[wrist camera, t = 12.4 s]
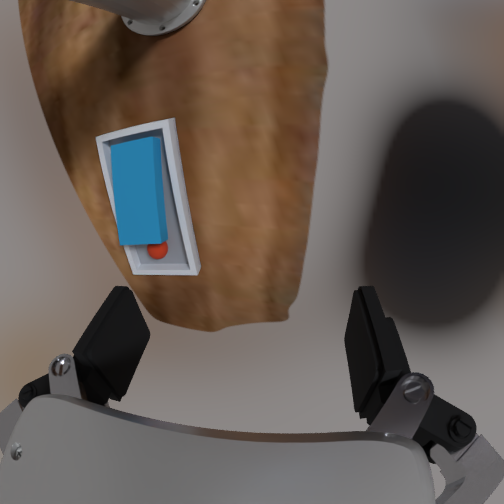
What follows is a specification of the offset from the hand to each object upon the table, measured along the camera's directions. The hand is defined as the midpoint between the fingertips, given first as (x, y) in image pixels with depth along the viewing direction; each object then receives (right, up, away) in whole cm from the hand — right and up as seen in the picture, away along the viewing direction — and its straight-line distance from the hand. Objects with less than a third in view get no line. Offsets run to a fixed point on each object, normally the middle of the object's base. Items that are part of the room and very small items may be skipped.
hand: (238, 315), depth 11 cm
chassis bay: (-15, +10, +29) cm, 34 cm away
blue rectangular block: (-15, +11, +28) cm, 33 cm away
